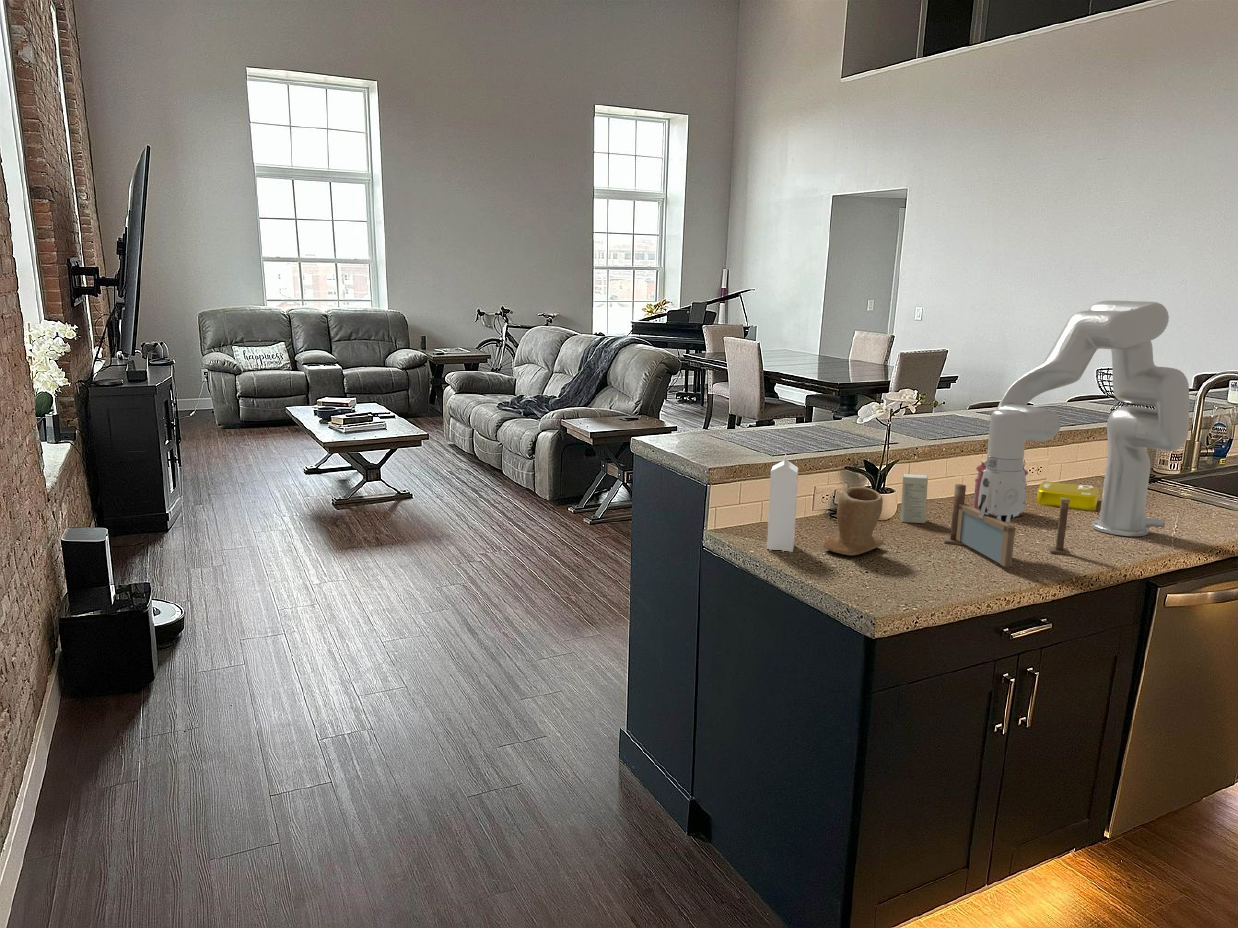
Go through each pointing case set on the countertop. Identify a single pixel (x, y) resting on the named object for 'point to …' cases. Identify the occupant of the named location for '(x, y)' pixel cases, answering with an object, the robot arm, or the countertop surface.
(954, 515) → the gate frame
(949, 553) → the countertop surface
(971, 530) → the panel
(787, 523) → the milk
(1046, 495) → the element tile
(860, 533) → the stone cup
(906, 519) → the skincare box
